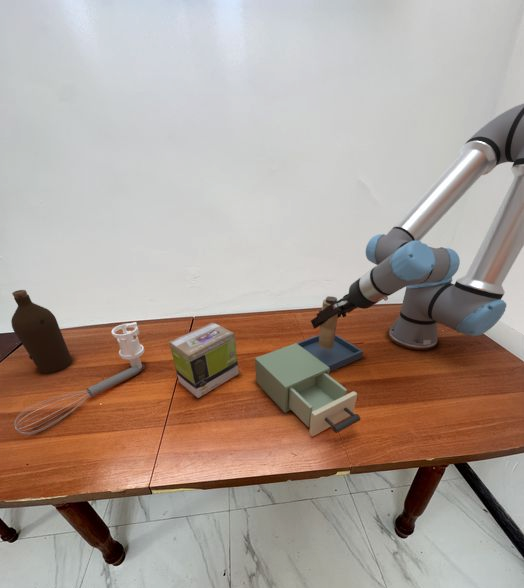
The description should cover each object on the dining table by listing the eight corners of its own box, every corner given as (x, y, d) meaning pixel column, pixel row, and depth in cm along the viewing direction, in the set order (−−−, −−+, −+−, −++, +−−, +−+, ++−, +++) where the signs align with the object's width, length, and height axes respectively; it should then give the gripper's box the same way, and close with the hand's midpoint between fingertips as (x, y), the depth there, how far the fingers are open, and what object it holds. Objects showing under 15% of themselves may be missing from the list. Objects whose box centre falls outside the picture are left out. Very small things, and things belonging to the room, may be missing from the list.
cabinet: (326, 392, 81) (330, 367, 76) (284, 413, 75) (285, 387, 70) (295, 366, 91) (296, 342, 87) (255, 382, 86) (254, 357, 81)
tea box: (219, 361, 94) (213, 320, 86) (239, 375, 88) (236, 332, 80) (178, 383, 86) (167, 340, 78) (197, 400, 80) (188, 355, 72)
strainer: (150, 369, 92) (138, 327, 83) (127, 377, 89) (112, 334, 81) (145, 358, 97) (133, 317, 89) (123, 365, 94) (108, 323, 86)
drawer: (366, 425, 70) (371, 404, 66) (325, 449, 64) (328, 428, 61) (317, 384, 83) (319, 365, 79) (279, 401, 77) (279, 381, 73)
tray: (329, 336, 106) (329, 330, 104) (362, 357, 94) (363, 351, 93) (289, 351, 98) (289, 345, 97) (320, 376, 87) (320, 369, 86)
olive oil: (80, 354, 99) (49, 284, 86) (64, 374, 91) (26, 298, 77) (48, 356, 99) (12, 285, 86) (29, 375, 90) (-16, 300, 77)
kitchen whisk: (151, 372, 91) (146, 355, 87) (27, 445, 68) (14, 427, 65) (139, 365, 94) (134, 348, 90) (18, 433, 72) (4, 415, 68)
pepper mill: (326, 339, 97) (332, 294, 88) (336, 346, 93) (343, 299, 85) (315, 343, 95) (319, 297, 86) (325, 350, 91) (330, 303, 83)
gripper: (350, 311, 68) (302, 341, 89) (400, 294, 76) (345, 325, 97) (337, 282, 69) (292, 318, 90) (388, 269, 77) (336, 304, 97)
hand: (320, 322), depth 93 cm, fingers closed on pepper mill, 5 cm apart
